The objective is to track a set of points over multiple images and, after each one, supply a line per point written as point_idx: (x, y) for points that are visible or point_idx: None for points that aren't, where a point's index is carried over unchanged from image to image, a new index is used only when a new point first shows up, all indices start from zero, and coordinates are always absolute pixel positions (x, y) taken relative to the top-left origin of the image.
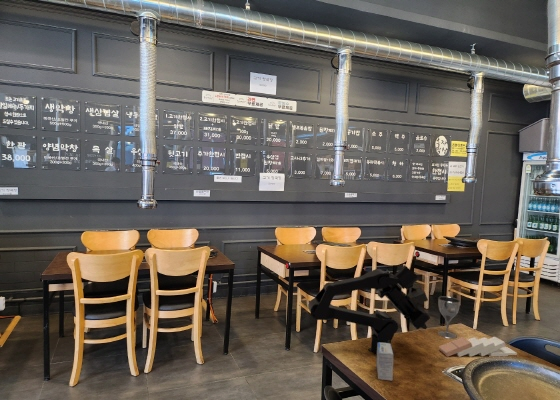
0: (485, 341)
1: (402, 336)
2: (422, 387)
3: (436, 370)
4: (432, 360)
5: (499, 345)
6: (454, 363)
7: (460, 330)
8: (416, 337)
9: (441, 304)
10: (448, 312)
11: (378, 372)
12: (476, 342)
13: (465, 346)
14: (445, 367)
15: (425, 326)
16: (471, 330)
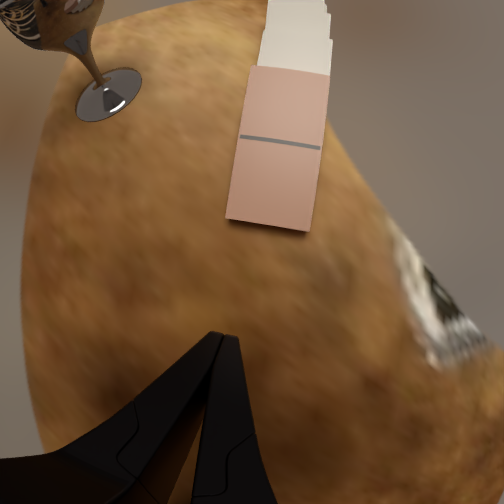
0: (299, 22)
1: (46, 313)
2: (481, 487)
3: (422, 387)
4: (333, 347)
5: (323, 11)
6: (377, 245)
7: (106, 43)
8: (70, 244)
9: (26, 14)
10: (79, 15)
11: None
12: (309, 51)
13: (325, 112)
14: (407, 322)
15: (239, 365)
16: (124, 20)
